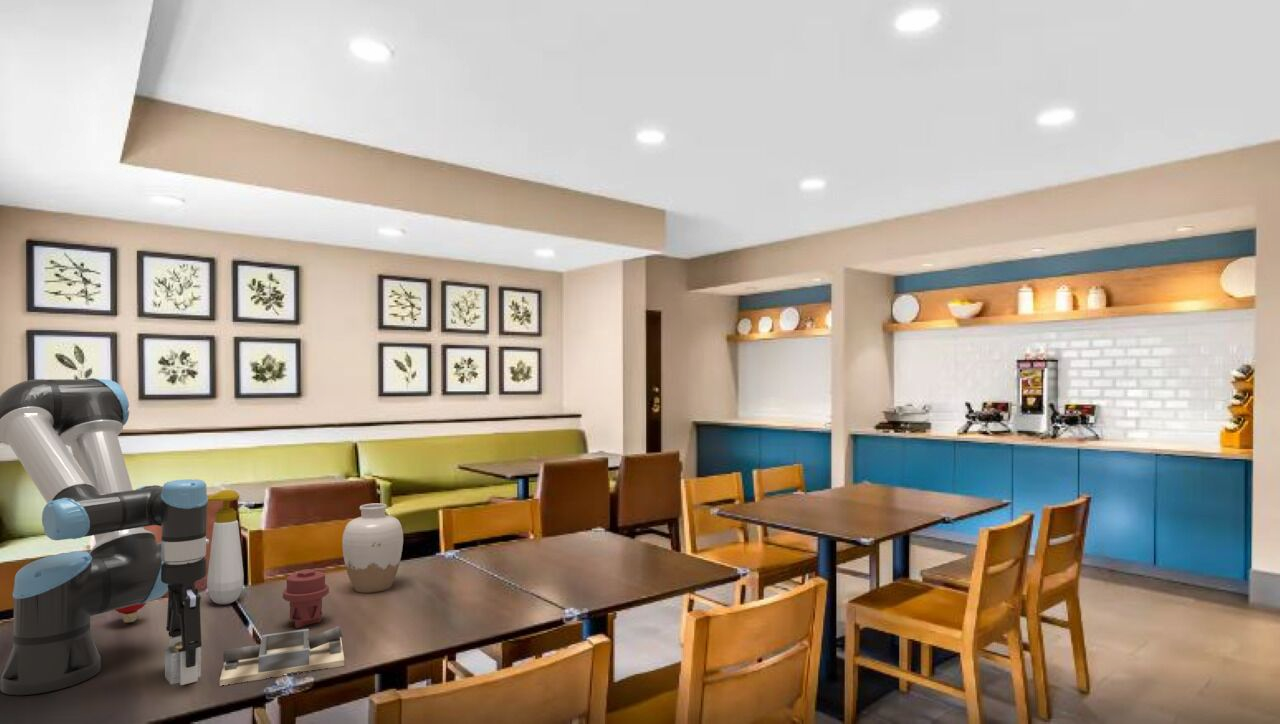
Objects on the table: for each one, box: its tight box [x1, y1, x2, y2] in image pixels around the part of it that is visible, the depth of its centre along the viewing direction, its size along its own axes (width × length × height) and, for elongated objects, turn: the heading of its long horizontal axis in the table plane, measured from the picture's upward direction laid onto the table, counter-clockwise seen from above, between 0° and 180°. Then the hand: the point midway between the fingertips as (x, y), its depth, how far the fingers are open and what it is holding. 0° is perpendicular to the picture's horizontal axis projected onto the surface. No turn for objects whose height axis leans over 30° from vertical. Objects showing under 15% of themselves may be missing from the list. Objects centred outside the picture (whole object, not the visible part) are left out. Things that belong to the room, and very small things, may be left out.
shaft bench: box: [219, 625, 345, 687], centre depth 147 cm, size 22×14×6 cm, turn 115°
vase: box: [341, 502, 404, 594], centre depth 199 cm, size 16×16×23 cm
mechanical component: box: [282, 568, 330, 629], centre depth 171 cm, size 12×10×10 cm
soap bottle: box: [206, 489, 245, 606], centre depth 187 cm, size 13×10×29 cm
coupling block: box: [164, 641, 202, 686], centre depth 141 cm, size 5×5×7 cm
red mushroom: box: [115, 602, 147, 625], centre depth 171 cm, size 9×7×10 cm
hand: (183, 675), depth 141 cm, fingers open, 8 cm apart
